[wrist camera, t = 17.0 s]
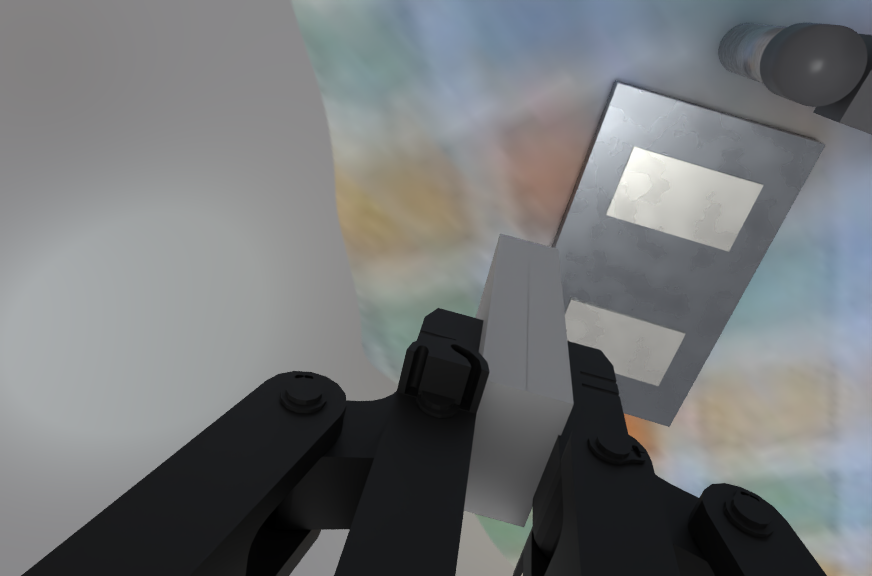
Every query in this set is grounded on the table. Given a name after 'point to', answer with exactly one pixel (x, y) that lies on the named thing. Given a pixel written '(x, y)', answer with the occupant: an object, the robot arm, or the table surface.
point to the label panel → (673, 228)
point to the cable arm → (822, 71)
